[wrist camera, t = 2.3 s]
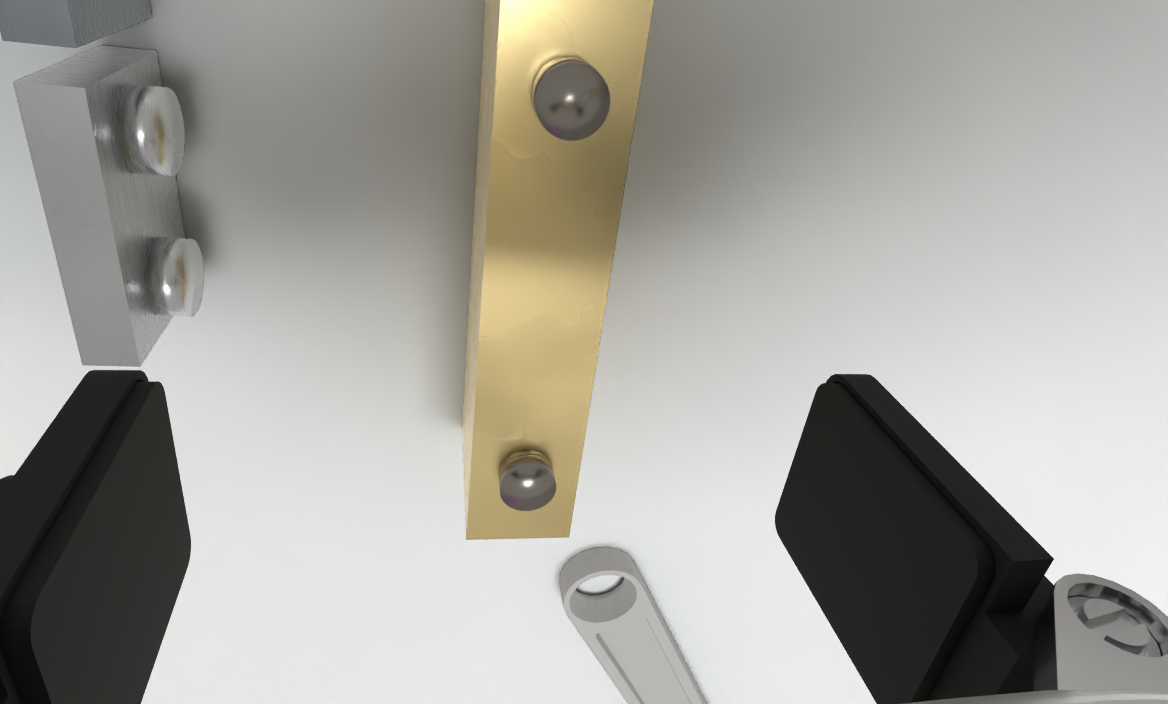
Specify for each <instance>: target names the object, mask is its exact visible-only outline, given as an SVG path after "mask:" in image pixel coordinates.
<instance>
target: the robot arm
mask: <svg viewBox="0 0 1168 704" xmlns="http://www.w3.org/2000/svg"><path fill="white" fill-rule="evenodd" d="M775 525H776V530H777V533H778V535H779V537H780V539H781V541H782V543H783V544H784V546H785V548H786V549H787V551H788V553H789V555H790V556H791V558H792V560H793V561H794V563H795V565H796V566H797V568H798V570H799V572H800V573H801V575H802V577H803V578H804V580H805V582H806V584H807V585H808V587H809V589H810V590H811V592H812V594H813V596H814V597H815V599H816V601H817V602H818V604H819V606H820V607H821V609H822V611H823V613H824V614H825V616H826V618H827V619H828V621H829V623H830V625H831V626H832V628H833V630H834V631H835V633H836V635H837V636H838V638H839V640H840V642H841V643H842V645H843V647H844V648H845V650H846V652H847V654H848V655H849V657H850V659H851V660H852V662H853V664H854V666H855V667H856V669H857V671H858V672H859V674H860V676H861V677H862V679H863V681H864V683H865V684H866V686H867V688H868V689H869V691H870V693H871V695H872V696H873V698H874V700H875V701H876V703H877V704H1168V616H1166V615H1165V614H1164V613H1163V612H1162V611H1161V610H1159V609H1158V608H1157V607H1156V606H1155V605H1154V604H1152V603H1151V602H1150V601H1148V600H1146V599H1145V598H1143V597H1142V596H1140V595H1139V594H1137V593H1136V592H1134V591H1132V590H1130V589H1128V588H1126V587H1124V586H1122V585H1120V584H1118V583H1115V582H1113V581H1110V580H1107V579H1104V578H1101V577H1097V576H1094V575H1085V574H1072V575H1066V576H1064V577H1062V578H1061V579H1059V580H1058V581H1057V582H1056V583H1055V585H1053V584H1052V583H1051V582H1050V581H1049V580H1048V579H1047V578H1046V577H1045V576H1044V575H1045V573H1046V571H1047V570H1048V568H1049V566H1050V565H1051V563H1052V561H1053V560H1054V558H1053V557H1052V556H1051V555H1050V554H1049V553H1048V552H1047V551H1046V550H1045V549H1044V548H1043V547H1042V546H1041V545H1040V544H1039V543H1038V542H1037V541H1036V540H1035V539H1034V538H1033V537H1032V536H1031V535H1030V534H1029V533H1028V532H1027V531H1026V530H1025V529H1024V528H1023V527H1022V526H1021V525H1020V524H1019V523H1018V522H1017V521H1016V520H1015V519H1014V518H1013V517H1012V516H1011V515H1010V514H1009V513H1008V512H1007V511H1006V510H1005V509H1004V508H1003V507H1002V506H1001V505H1000V504H999V503H998V502H997V501H996V500H995V499H994V498H993V497H992V496H991V495H990V494H989V493H988V492H987V491H986V490H985V489H984V488H983V487H982V486H981V485H980V484H979V483H978V482H977V481H976V480H975V479H974V478H973V477H972V476H971V475H970V474H969V473H968V472H967V471H966V470H965V469H964V468H963V467H962V466H961V465H960V464H959V463H958V462H957V460H956V459H955V458H954V457H953V456H952V455H951V454H950V453H949V452H948V451H947V450H946V449H945V448H944V447H943V446H942V445H941V444H940V443H939V442H938V441H937V440H936V439H935V438H934V437H933V436H932V435H931V434H930V433H929V432H928V431H927V430H926V429H925V428H924V427H923V426H922V425H921V424H920V423H919V422H918V421H917V420H916V419H915V418H914V417H913V416H912V415H911V414H910V413H909V412H908V411H907V410H906V409H905V408H904V407H903V406H902V405H901V404H900V403H899V402H898V401H897V400H896V399H895V398H894V397H893V396H892V395H891V394H890V393H889V392H888V391H887V390H886V389H885V388H884V387H883V386H882V385H881V384H880V383H879V382H878V381H877V380H876V379H875V378H874V377H872V376H871V375H866V374H835V375H832V376H831V377H830V378H829V379H828V380H827V382H826V383H823V384H821V385H820V386H819V387H818V389H817V391H816V393H815V396H814V399H813V402H812V405H811V408H810V411H809V414H808V417H807V420H806V423H805V426H804V429H803V432H802V435H801V438H800V441H799V444H798V447H797V450H796V453H795V456H794V459H793V462H792V465H791V468H790V471H789V474H788V477H787V480H786V483H785V486H784V489H783V492H782V495H781V498H780V501H779V504H778V507H777V510H776V515H775ZM190 552H191V538H190V531H189V526H188V520H187V514H186V509H185V503H184V497H183V492H182V486H181V481H180V475H179V469H178V464H177V458H176V453H175V447H174V441H173V436H172V430H171V424H170V419H169V413H168V408H167V402H166V396H165V391H164V388H163V386H162V384H161V383H160V382H148V378H147V376H146V374H145V373H144V372H143V371H141V370H92V371H89V372H88V373H87V374H86V375H85V376H84V378H83V379H82V381H81V382H80V383H79V385H78V386H77V388H76V389H75V391H74V392H73V393H72V395H71V396H70V398H69V399H68V400H67V402H66V403H65V405H64V406H63V408H62V409H61V410H60V412H59V413H58V415H57V416H56V417H55V419H54V420H53V422H52V423H51V424H50V426H49V427H48V429H47V430H46V432H45V433H44V434H43V436H42V437H41V439H40V440H39V441H38V443H37V444H36V446H35V447H34V449H33V450H32V451H31V453H30V454H29V456H28V457H27V458H26V460H25V461H24V463H23V464H22V466H21V467H20V468H19V470H18V471H17V473H16V474H15V475H10V476H7V477H4V478H2V479H0V704H141V701H142V698H143V695H144V692H145V690H146V687H147V684H148V681H149V678H150V675H151V672H152V669H153V666H154V663H155V660H156V658H157V655H158V652H159V649H160V646H161V643H162V640H163V637H164V634H165V631H166V628H167V626H168V623H169V620H170V617H171V614H172V611H173V608H174V605H175V602H176V599H177V596H178V594H179V591H180V588H181V585H182V582H183V579H184V576H185V573H186V570H187V567H188V564H189V559H190Z"/></svg>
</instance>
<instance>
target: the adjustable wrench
mask: <svg viewBox="0 0 1168 704" xmlns="http://www.w3.org/2000/svg"><path fill="white" fill-rule="evenodd" d="M601 575H616V576H622V577H624V580H623V581H622V583H621V584H620V585H619V586H618V587H616V588H615V589H613V590H611V591H609V592H607V593H604V594H600V595H587V594H582V593H580V592H578V591H576V588H577V587H578V586H579V585H580V584H582V583H583V582H585V581H587V580H589V579H591V578H594V577H598V576H601ZM559 583H560V589H561V595H562V602H563V607H564V610H565V612H566V615H567V616H568V618H569V619H570V620H571V622H572V623H573V625H574V626H575V628H576V629H577V631H578V632H579V634H580V635H581V636H582V638H583V639H584V641H585V642H586V644H587V645H588V647H589V648H590V650H591V651H592V652H593V654H594V655H595V657H596V658H597V660H598V661H599V663H600V664H601V665H602V667H603V668H604V670H605V671H606V673H607V674H608V676H609V677H610V679H611V680H612V681H613V683H614V684H615V686H616V687H617V689H618V690H619V692H620V693H621V695H622V696H623V697H624V699H625V700H626V702H627V703H628V704H707V702H706V700H705V698H704V696H703V694H702V692H701V690H700V688H699V686H698V685H697V683H696V681H695V679H694V677H693V675H692V673H691V671H690V669H689V667H688V665H687V663H686V661H685V659H684V657H683V655H682V653H681V651H680V649H679V647H678V645H677V643H676V641H675V640H674V638H673V636H672V634H671V632H670V630H669V628H668V626H667V624H666V622H665V620H664V618H663V616H662V614H661V612H660V610H659V608H658V606H657V604H656V602H655V600H654V598H653V596H652V595H651V593H650V591H649V589H648V587H647V585H646V583H645V581H644V579H643V577H642V575H641V573H640V571H639V569H638V567H637V565H636V563H635V561H634V560H633V559H632V557H631V556H630V555H629V554H628V553H626V552H624V551H622V550H620V549H617V548H612V547H595V548H592V549H588V550H585V551H582V552H581V553H579V554H577V555H575V556H574V557H572V558H571V559H570V560H569V561H568V562H567V563H566V564H565V565H564V567H563V569H562V571H561V573H560V580H559Z"/></svg>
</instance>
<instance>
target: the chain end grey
mask: <svg viewBox="0 0 1168 704" xmlns="http://www.w3.org/2000/svg"><path fill="white" fill-rule="evenodd" d="M13 84H14V88H15V92H16V97H17V101H18V105H19V109H20V113H21V117H22V121H23V125H24V129H25V133H26V137H27V141H28V145H29V149H30V153H31V158H32V162H33V166H34V170H35V174H36V178H37V182H38V186H39V190H40V194H41V198H42V202H43V206H44V210H45V215H46V219H47V223H48V227H49V231H50V235H51V239H52V243H53V247H54V251H55V255H56V259H57V263H58V267H59V271H60V276H61V280H62V284H63V288H64V292H65V296H66V300H67V304H68V308H69V312H70V316H71V320H72V324H73V328H74V333H75V337H76V341H77V345H78V349H79V353H80V357H81V361H82V365H95V366H138V367H140V366H141V365H142V363H143V362H144V360H145V359H146V357H147V355H148V354H149V352H150V351H151V349H152V348H153V346H154V345H155V343H156V342H157V340H158V339H159V337H160V336H161V334H162V333H163V331H164V330H165V328H166V326H167V325H168V323H169V322H170V320H171V319H172V317H173V316H194V315H195V314H196V313H197V312H198V310H199V307H200V304H201V301H202V296H203V288H204V267H203V259H202V254H201V251H200V248H199V245H198V243H197V242H196V241H195V240H194V239H186V238H185V235H184V228H183V222H182V215H181V208H180V201H179V195H178V188H177V181H176V174H177V173H178V172H179V170H180V168H181V165H182V162H183V157H184V147H185V133H184V122H183V116H182V111H181V107H180V104H179V101H178V99H177V97H176V95H175V93H174V92H173V90H172V89H170V88H168V87H162V81H161V74H160V68H159V61H158V54H157V51H154V50H145V49H135V48H125V47H115V46H105V45H100V46H97V47H95V48H93V49H90V50H88V51H85V52H83V53H81V54H78V55H76V56H73V57H71V58H69V59H66V60H64V61H61V62H59V63H57V64H54V65H52V66H49V67H47V68H45V69H42V70H40V71H37V72H35V73H32V74H30V75H28V76H25V77H23V78H20V79H18V80H16V81H13Z"/></svg>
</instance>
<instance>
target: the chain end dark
mask: <svg viewBox="0 0 1168 704" xmlns="http://www.w3.org/2000/svg"><path fill="white" fill-rule="evenodd" d="M151 18H152V14H151V7H150V1H149V0H0V31H1V35H2V40H3V41H12V42H22V43H32V44H42V45H52V46H62V47H72V48H78V47H80V46H83V45H85V44H88V43H90V42H93V41H95V40H98V39H100V38H103V37H105V36H108V35H110V34H113V33H116V32H118V31H121V30H123V29H126V28H128V27H131V26H133V25H136V24H138V23H141V22H143V21H146V20H148V19H151Z"/></svg>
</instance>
